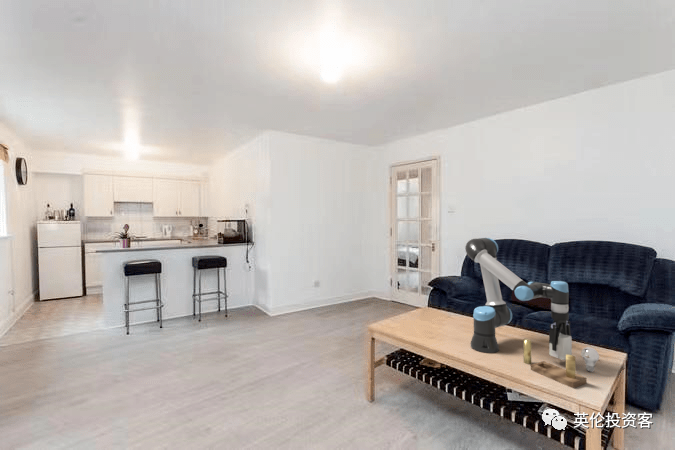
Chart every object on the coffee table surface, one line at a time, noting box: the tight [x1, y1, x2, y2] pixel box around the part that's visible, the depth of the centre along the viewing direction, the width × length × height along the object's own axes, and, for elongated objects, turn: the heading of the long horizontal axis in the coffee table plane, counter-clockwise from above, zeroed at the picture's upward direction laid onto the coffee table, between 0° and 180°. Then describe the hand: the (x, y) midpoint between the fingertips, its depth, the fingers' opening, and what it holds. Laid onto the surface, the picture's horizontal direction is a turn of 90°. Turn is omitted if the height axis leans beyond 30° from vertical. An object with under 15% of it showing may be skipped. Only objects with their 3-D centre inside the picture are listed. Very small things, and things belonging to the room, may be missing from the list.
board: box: [530, 355, 588, 389], centre depth 157 cm, size 20×10×12 cm, turn 24°
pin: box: [522, 338, 532, 365], centre depth 172 cm, size 4×4×12 cm
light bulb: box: [581, 346, 600, 373], centre depth 161 cm, size 7×7×12 cm
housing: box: [548, 332, 573, 361], centre depth 170 cm, size 7×7×11 cm
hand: (560, 355), depth 170 cm, fingers closed on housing, 7 cm apart
